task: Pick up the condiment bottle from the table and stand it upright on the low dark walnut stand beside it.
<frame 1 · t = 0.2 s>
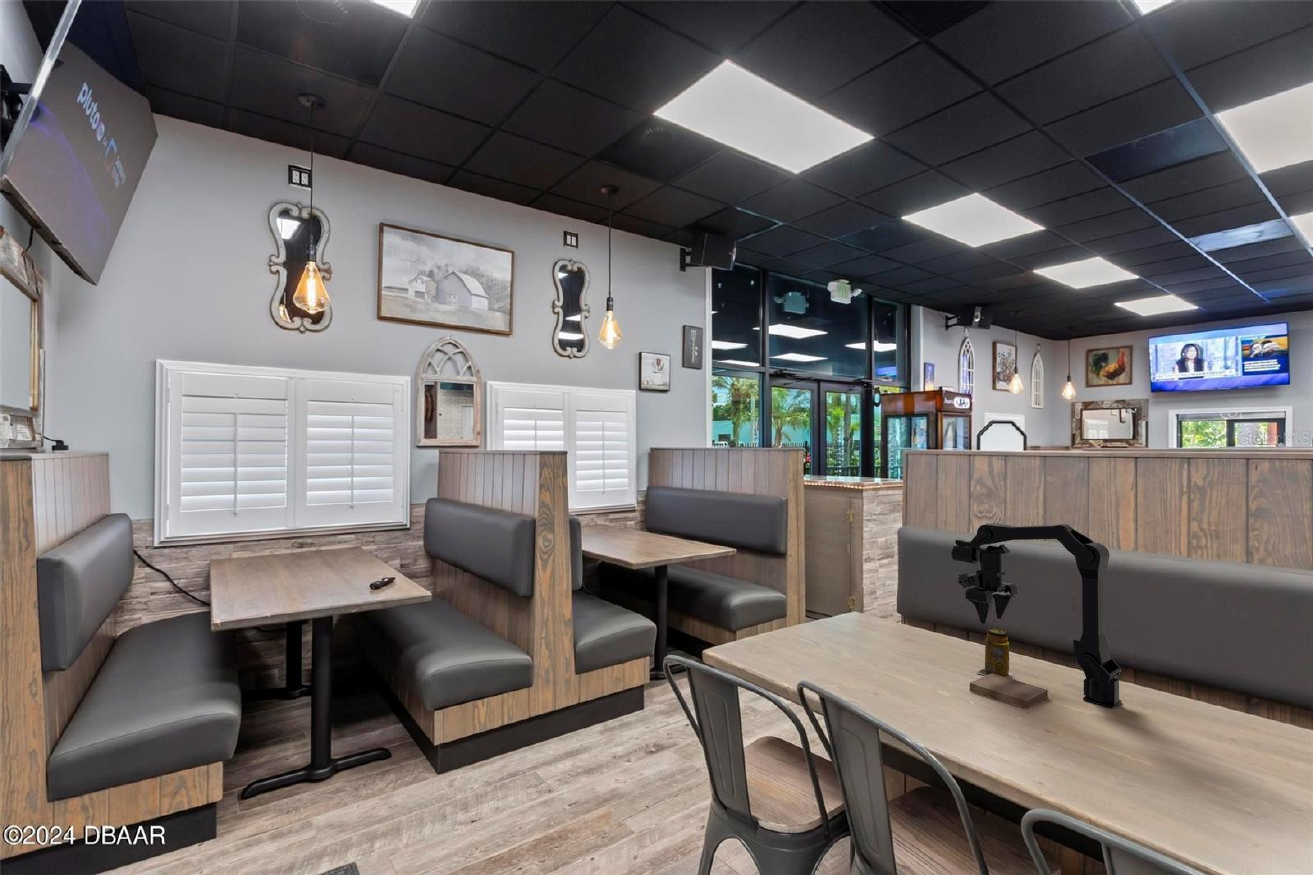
hand: (991, 621, 179), 14 cm above the table, tool pointing down, fingers open, 9 cm apart
condiment: (995, 674, 176), on the table
stand: (1008, 694, 162), on the table
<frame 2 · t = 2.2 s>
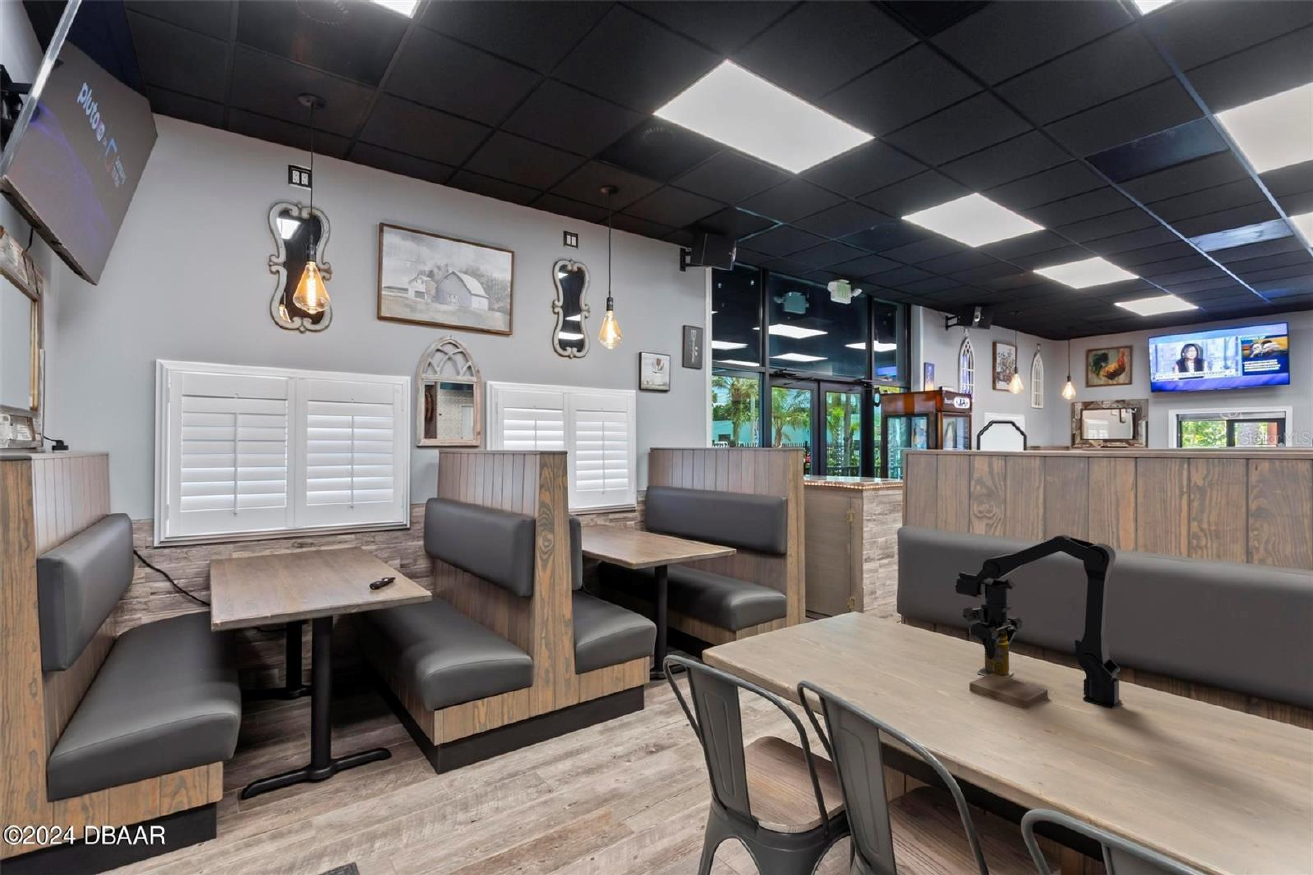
hand: (996, 656, 176), 5 cm above the table, tool pointing down, fingers open, 6 cm apart
condiment: (995, 673, 176), on the table, touching gripper
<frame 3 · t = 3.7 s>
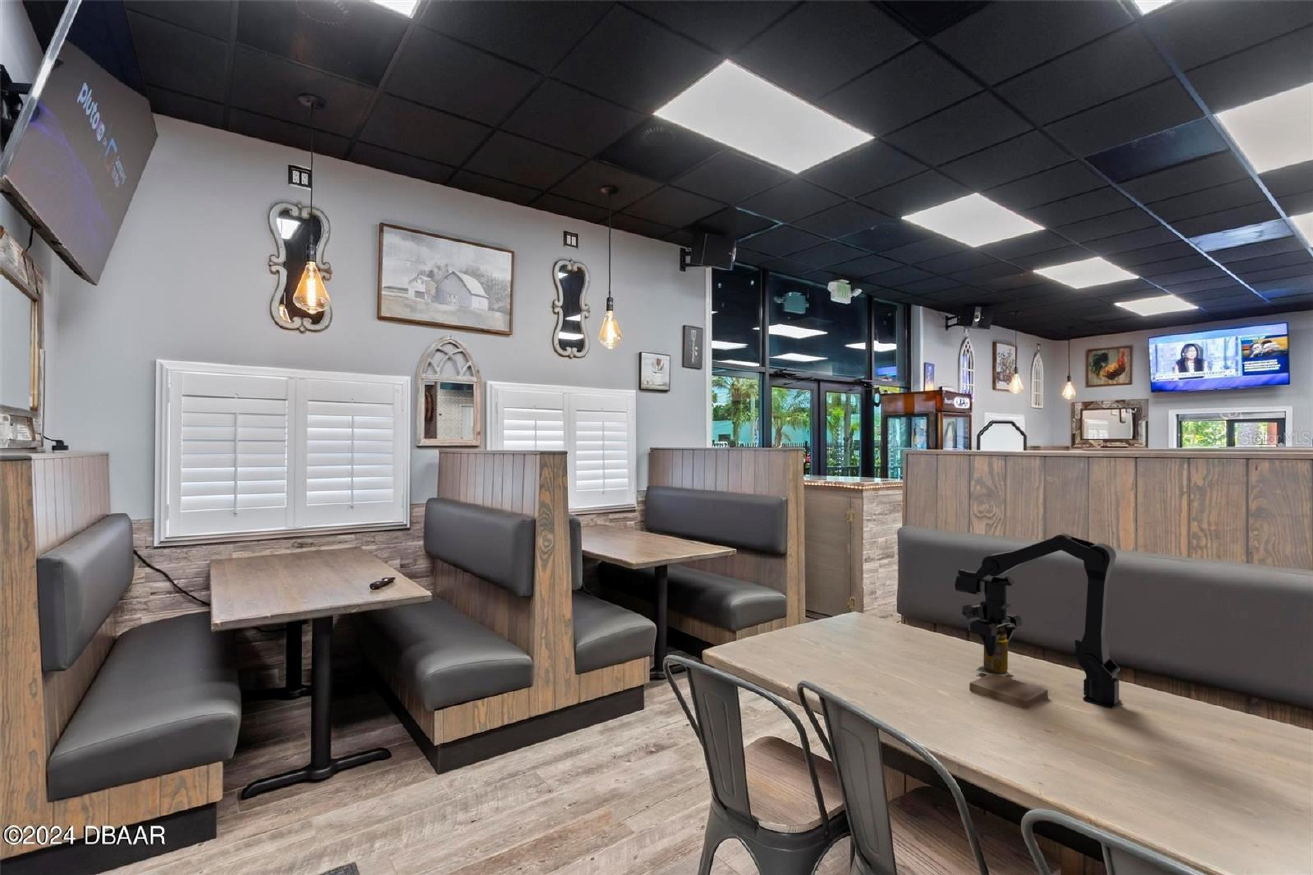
hand: (995, 653, 176), 6 cm above the table, tool pointing down, fingers closed on condiment, 6 cm apart
condiment: (993, 671, 175), point 1 cm above the table, touching gripper
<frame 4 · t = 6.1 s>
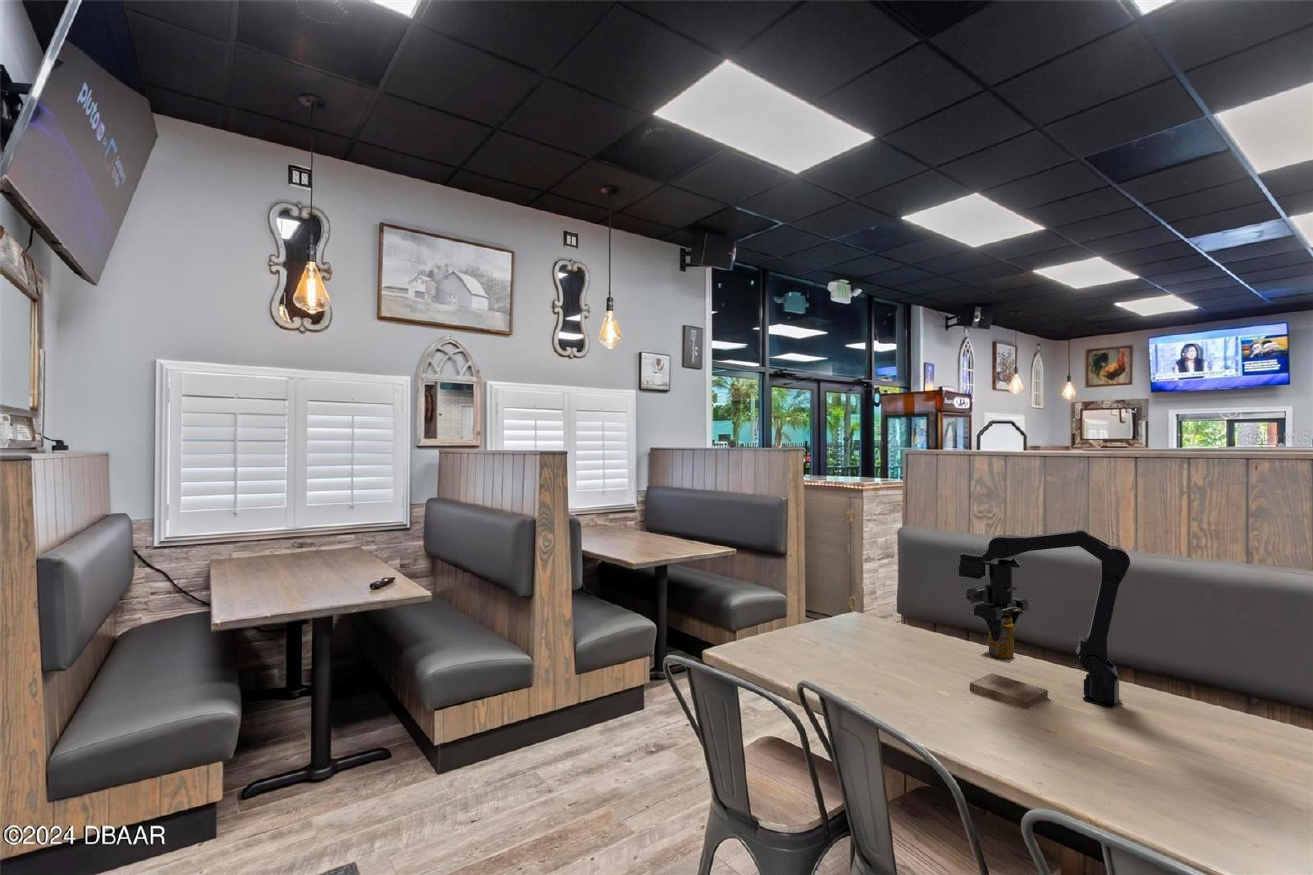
hand: (1001, 638, 170), 12 cm above the table, tool pointing down, fingers closed on condiment, 6 cm apart
condiment: (999, 657, 169), point 7 cm above the table, touching gripper
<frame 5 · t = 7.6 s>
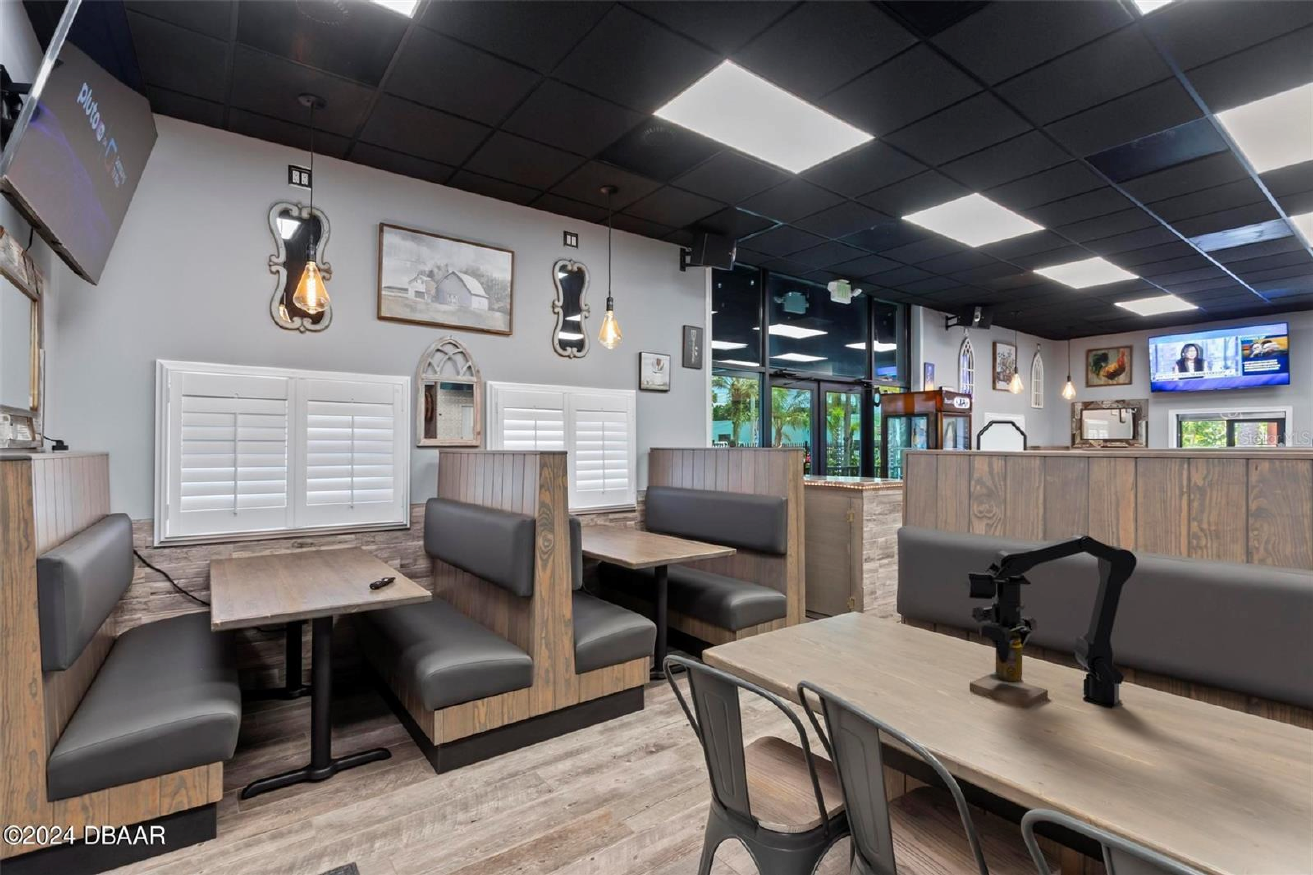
hand: (1008, 660, 162), 9 cm above the table, tool pointing down, fingers closed on condiment, 6 cm apart
condiment: (1007, 679, 161), point 4 cm above the table, touching gripper
when the fingers open (7 cm above the table, at t = 8.8 s): condiment stays where it is, resting on stand.
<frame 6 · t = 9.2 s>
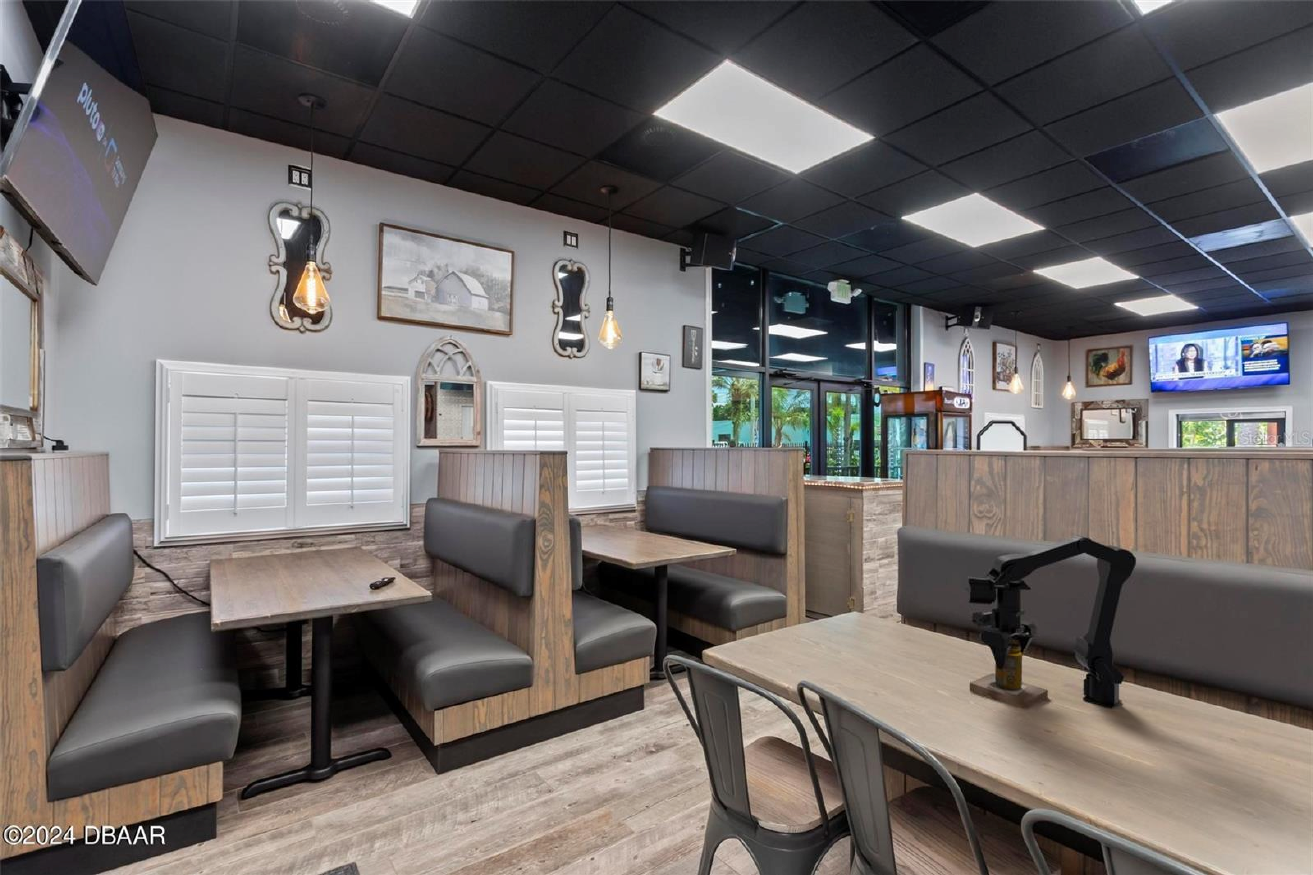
hand: (1008, 665, 162), 7 cm above the table, tool pointing down, fingers open, 9 cm apart
condiment: (1006, 687, 161), point 2 cm above the table, touching stand
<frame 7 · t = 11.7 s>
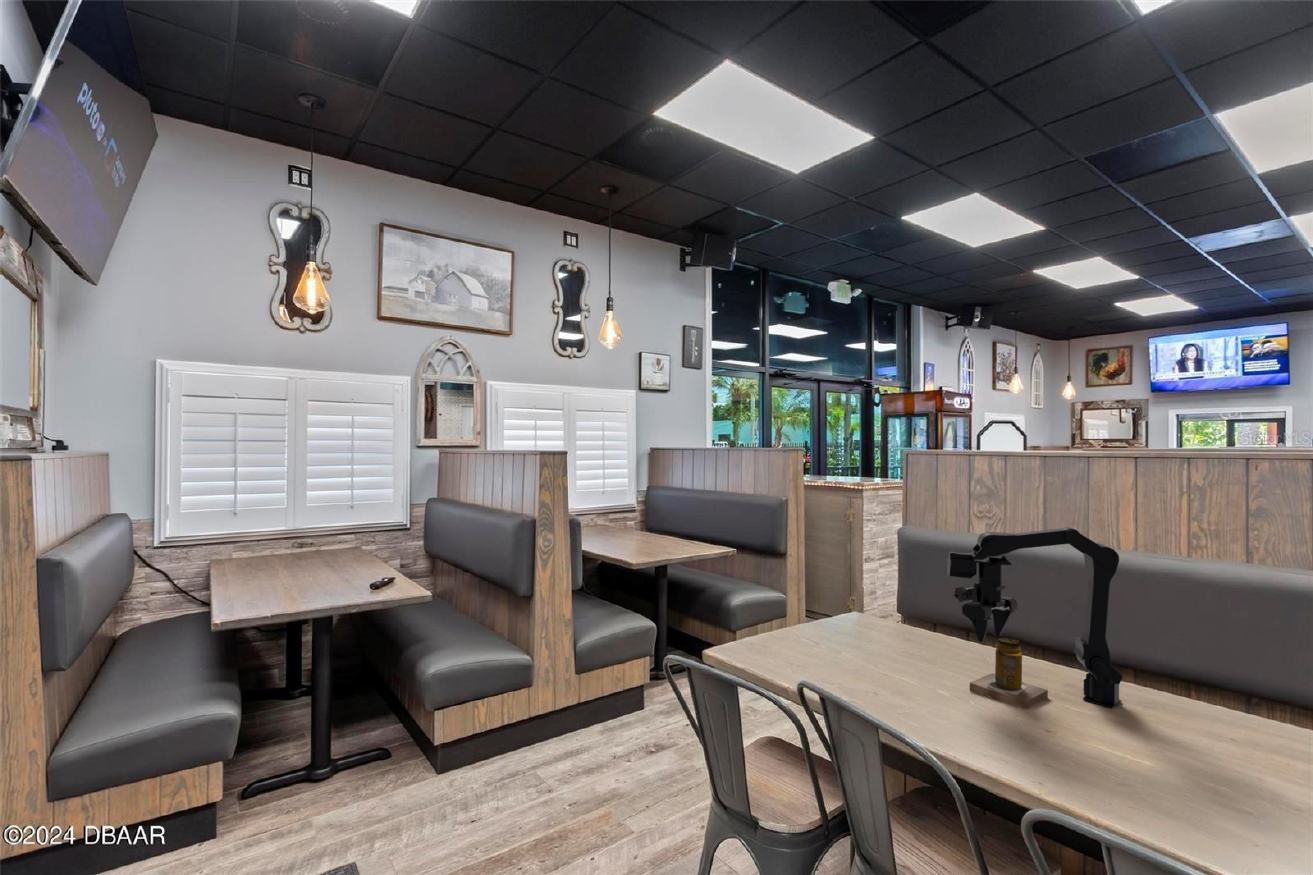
hand: (989, 638, 165), 13 cm above the table, tool pointing down, fingers open, 9 cm apart
nothing on the table moved.
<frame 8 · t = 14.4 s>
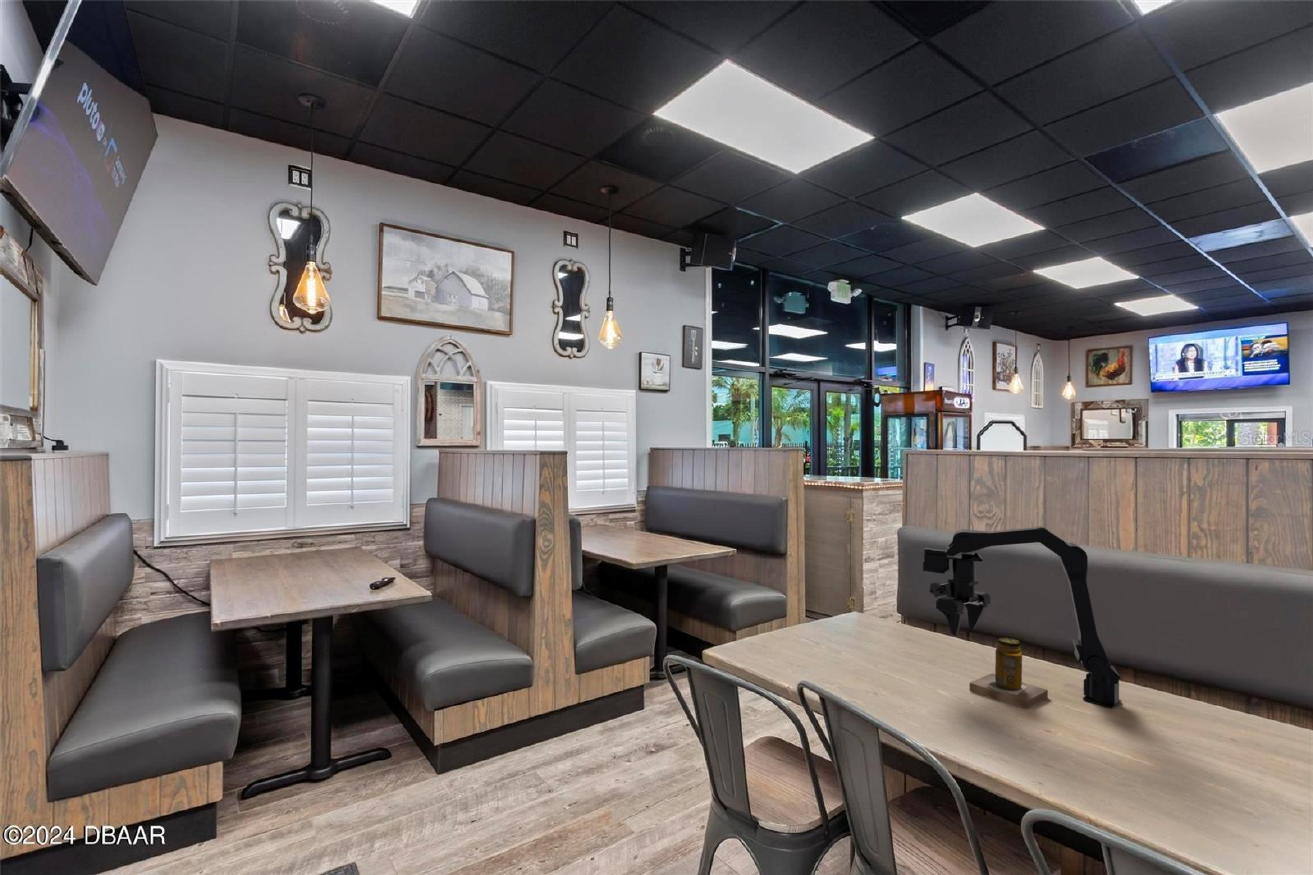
hand: (963, 632, 171), 13 cm above the table, tool pointing down, fingers open, 9 cm apart
nothing on the table moved.
at the end: condiment inside the target area on the stand (0.8 cm from its centre), point 1.8 cm above the stand's base; condiment tilted 0°; condiment touching stand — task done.
